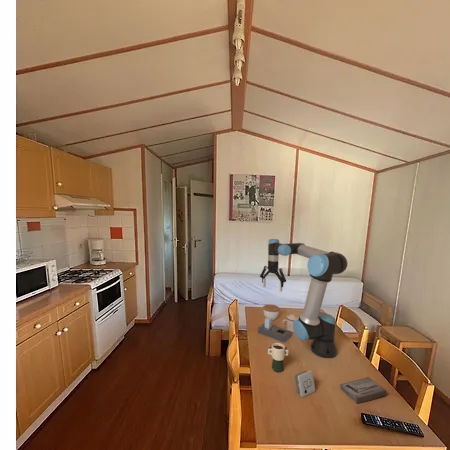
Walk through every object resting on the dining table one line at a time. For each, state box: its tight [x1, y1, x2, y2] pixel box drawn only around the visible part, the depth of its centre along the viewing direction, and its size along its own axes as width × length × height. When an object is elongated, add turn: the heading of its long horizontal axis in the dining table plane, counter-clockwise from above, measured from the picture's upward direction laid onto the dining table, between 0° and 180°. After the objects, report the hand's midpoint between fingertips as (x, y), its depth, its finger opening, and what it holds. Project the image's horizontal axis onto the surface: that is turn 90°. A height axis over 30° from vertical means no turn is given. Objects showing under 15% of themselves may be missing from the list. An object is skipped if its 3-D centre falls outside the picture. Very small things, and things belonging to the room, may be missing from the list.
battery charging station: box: [257, 322, 292, 343], centre depth 178 cm, size 20×10×5 cm, turn 51°
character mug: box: [267, 342, 289, 373], centre depth 139 cm, size 11×7×13 cm, turn 85°
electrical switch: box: [294, 370, 316, 398], centre depth 123 cm, size 9×5×9 cm, turn 121°
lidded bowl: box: [262, 304, 280, 321], centre depth 204 cm, size 13×13×11 cm
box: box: [339, 376, 387, 405], centre depth 123 cm, size 11×17×3 cm, turn 107°
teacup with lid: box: [282, 313, 299, 333], centre depth 186 cm, size 12×9×12 cm
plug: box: [264, 317, 273, 329], centre depth 181 cm, size 4×4×10 cm
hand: (272, 289), depth 187 cm, fingers open, 13 cm apart
